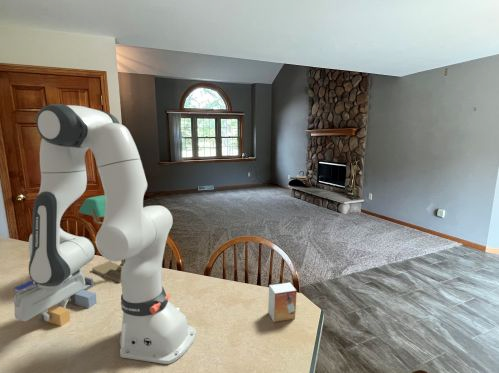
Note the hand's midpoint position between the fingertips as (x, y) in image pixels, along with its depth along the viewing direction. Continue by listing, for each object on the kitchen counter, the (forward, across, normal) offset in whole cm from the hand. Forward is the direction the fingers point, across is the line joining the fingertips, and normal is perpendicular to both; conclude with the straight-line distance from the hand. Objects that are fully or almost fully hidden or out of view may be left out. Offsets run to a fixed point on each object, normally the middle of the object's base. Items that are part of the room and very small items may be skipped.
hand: (55, 315), depth 88 cm
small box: (+2, +29, -69) cm, 75 cm away
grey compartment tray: (+2, +11, +13) cm, 17 cm away
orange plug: (+2, 0, 0) cm, 2 cm away
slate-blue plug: (+2, +10, 0) cm, 10 cm away
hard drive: (+2, +10, +26) cm, 28 cm away
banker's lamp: (+2, +31, +8) cm, 32 cm away
